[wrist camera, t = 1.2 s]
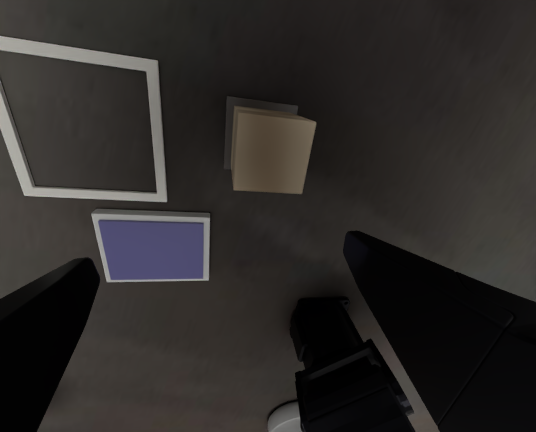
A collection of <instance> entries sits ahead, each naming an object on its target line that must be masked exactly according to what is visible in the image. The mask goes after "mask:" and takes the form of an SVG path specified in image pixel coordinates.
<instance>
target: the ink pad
mask: <svg viewBox="0 0 536 432" xmlns="http://www.w3.org/2000/svg"><path fill="white" fill-rule="evenodd" d="M91 215H92V219H93V223H94V228H95V232H96V236H97V241H98V245H99V250H100V254H101V258H102V263H103V267H104V271H105V276H106V280H107V282H140V281H201V280H209V253H210V213H197V212H171V211H145V210H119V209H96V210H95V211H94V212H92V213H91Z"/></svg>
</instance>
